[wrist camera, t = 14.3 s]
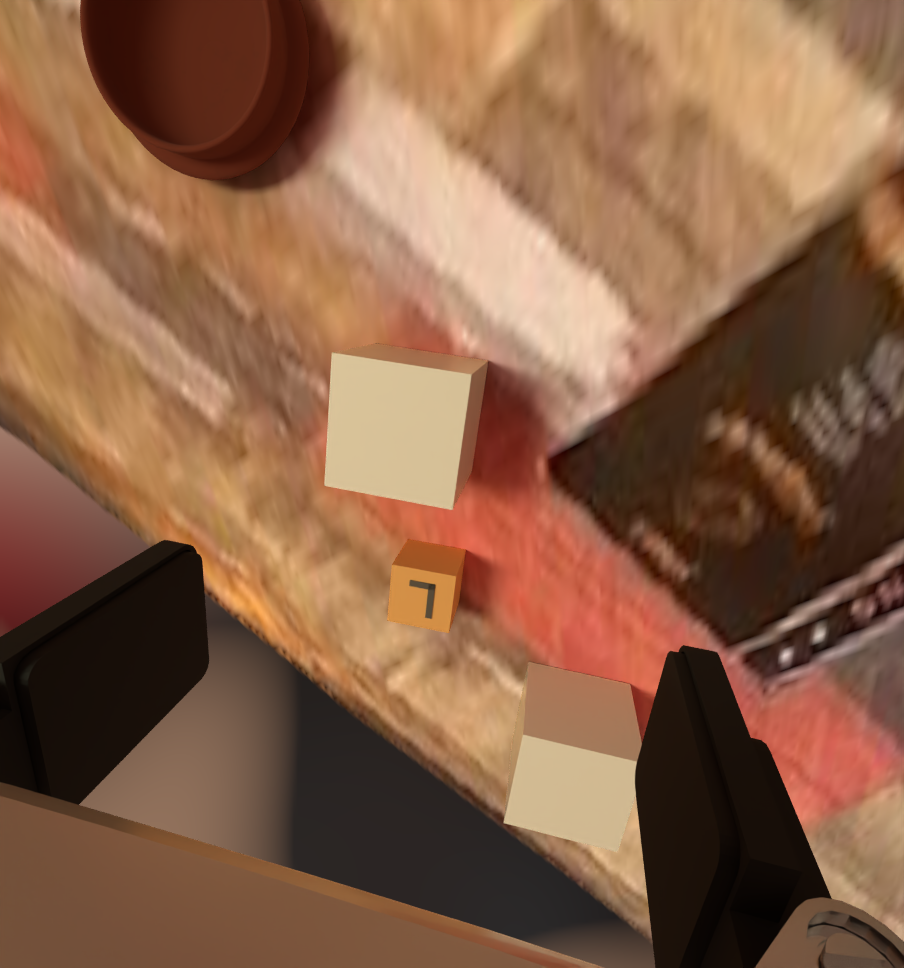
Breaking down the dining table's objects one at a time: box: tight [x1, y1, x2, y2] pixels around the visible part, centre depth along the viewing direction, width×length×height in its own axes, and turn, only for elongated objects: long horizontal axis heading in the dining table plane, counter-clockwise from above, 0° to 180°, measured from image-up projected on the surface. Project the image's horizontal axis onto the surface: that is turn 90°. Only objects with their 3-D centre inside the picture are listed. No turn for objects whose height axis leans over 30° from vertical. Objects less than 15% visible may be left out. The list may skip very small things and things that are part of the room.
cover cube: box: [324, 343, 488, 510], centre depth 31 cm, size 7×7×7 cm
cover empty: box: [504, 662, 642, 852], centre depth 36 cm, size 7×7×7 cm
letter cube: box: [387, 539, 466, 633], centre depth 36 cm, size 4×4×4 cm
